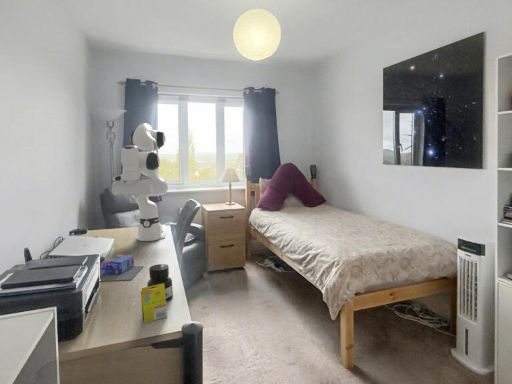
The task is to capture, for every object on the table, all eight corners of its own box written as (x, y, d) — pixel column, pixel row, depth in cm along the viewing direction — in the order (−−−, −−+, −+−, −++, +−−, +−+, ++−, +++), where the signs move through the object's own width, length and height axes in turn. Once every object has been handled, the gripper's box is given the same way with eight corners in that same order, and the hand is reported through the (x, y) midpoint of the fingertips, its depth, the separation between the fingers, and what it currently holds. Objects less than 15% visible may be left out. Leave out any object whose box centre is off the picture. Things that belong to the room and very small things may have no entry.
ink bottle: (148, 305, 111) (145, 273, 110) (146, 296, 119) (144, 265, 118) (176, 300, 115) (174, 268, 114) (172, 291, 123) (170, 261, 122)
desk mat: (114, 267, 151) (114, 266, 151) (143, 266, 152) (143, 265, 152) (97, 281, 134) (97, 280, 134) (131, 280, 135) (130, 279, 135)
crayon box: (165, 313, 105) (163, 280, 104) (167, 317, 103) (165, 283, 101) (142, 319, 102) (139, 285, 100) (143, 323, 99) (141, 288, 98)
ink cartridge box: (134, 254, 151) (115, 265, 137) (135, 265, 152) (116, 277, 138) (115, 253, 153) (95, 264, 139) (116, 264, 154) (96, 276, 140)
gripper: (153, 175, 167) (155, 201, 168) (114, 177, 166) (116, 202, 167) (150, 176, 160) (151, 203, 162) (109, 177, 159) (111, 204, 161)
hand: (133, 203), depth 165 cm, fingers closed
